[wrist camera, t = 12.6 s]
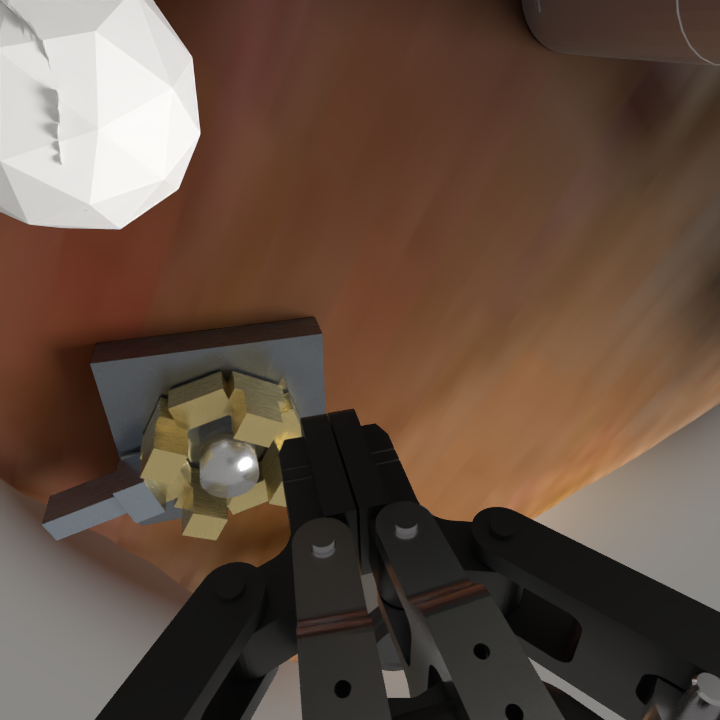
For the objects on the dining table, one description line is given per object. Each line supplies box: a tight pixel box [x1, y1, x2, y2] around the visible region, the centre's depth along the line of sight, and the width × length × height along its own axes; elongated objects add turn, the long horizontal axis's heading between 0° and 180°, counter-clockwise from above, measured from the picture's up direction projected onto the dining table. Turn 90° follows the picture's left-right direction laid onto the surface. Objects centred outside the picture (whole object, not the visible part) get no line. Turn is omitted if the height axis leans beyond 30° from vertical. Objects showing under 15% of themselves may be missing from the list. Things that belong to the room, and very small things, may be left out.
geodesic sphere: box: [0, 0, 200, 229], centre depth 27 cm, size 14×14×14 cm
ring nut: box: [42, 371, 302, 540], centre depth 42 cm, size 21×12×5 cm, turn 105°
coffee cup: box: [359, 566, 403, 671], centre depth 53 cm, size 8×8×15 cm
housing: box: [90, 317, 326, 526], centre depth 44 cm, size 17×17×8 cm
